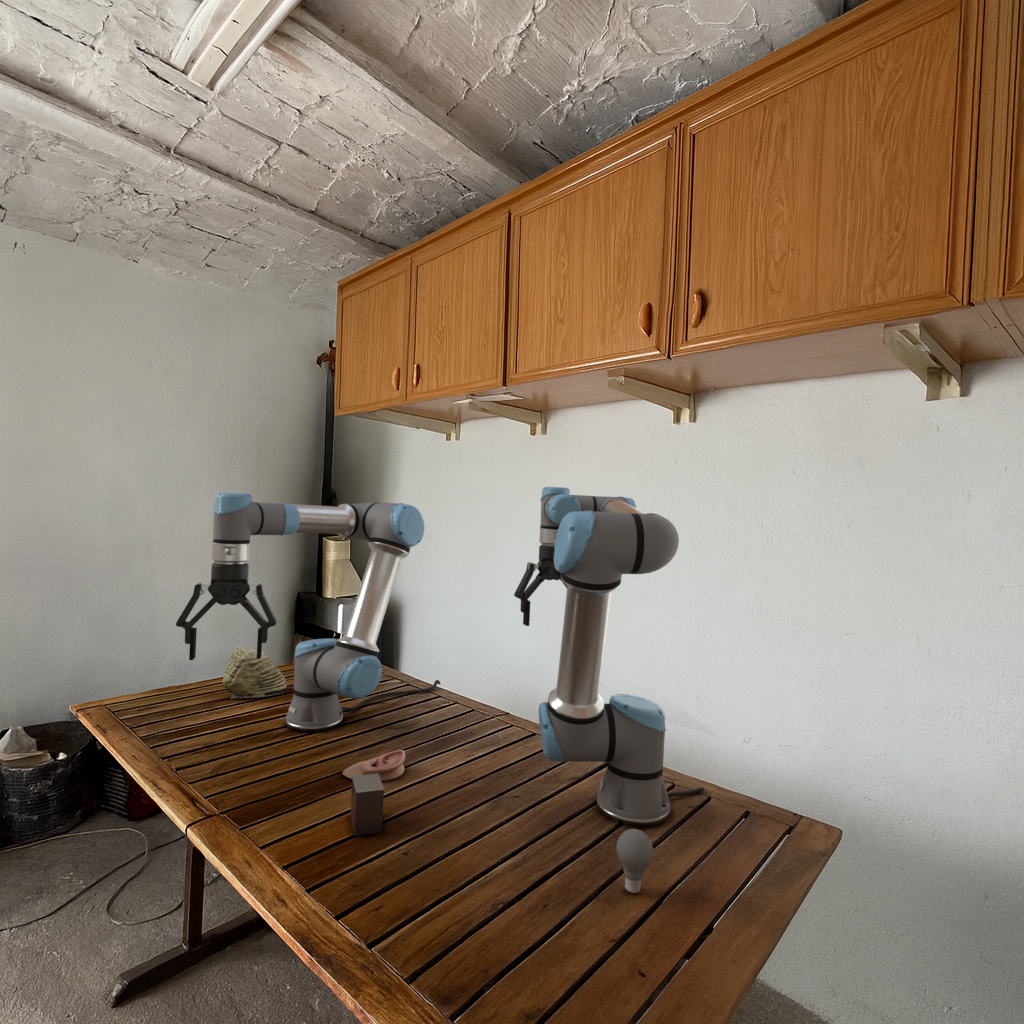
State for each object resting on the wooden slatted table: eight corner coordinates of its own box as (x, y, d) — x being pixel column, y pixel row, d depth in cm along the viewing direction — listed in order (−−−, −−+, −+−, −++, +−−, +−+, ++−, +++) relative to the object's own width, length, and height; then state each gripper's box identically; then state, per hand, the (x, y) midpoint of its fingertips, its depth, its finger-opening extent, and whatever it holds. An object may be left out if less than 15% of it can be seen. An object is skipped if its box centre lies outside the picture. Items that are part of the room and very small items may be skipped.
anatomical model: (336, 761, 142) (359, 742, 153) (336, 778, 142) (358, 758, 153) (392, 768, 139) (411, 749, 151) (391, 786, 139) (410, 765, 151)
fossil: (218, 695, 195) (220, 647, 195) (278, 685, 208) (279, 640, 207) (228, 703, 189) (230, 653, 188) (289, 692, 201) (290, 645, 201)
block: (354, 836, 119) (356, 792, 119) (350, 817, 126) (352, 775, 126) (382, 832, 121) (384, 789, 120) (376, 814, 128) (378, 772, 127)
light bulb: (610, 879, 108) (613, 822, 108) (644, 879, 109) (647, 822, 109) (619, 902, 102) (622, 840, 102) (655, 901, 103) (658, 840, 103)
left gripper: (163, 562, 133) (158, 663, 133) (289, 565, 140) (284, 661, 140) (171, 559, 140) (167, 654, 140) (291, 561, 147) (286, 653, 147)
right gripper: (514, 545, 161) (510, 628, 161) (601, 546, 169) (598, 625, 170) (504, 543, 168) (501, 622, 168) (589, 544, 176) (585, 620, 177)
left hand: (226, 658), depth 140 cm, fingers open, 13 cm apart
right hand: (549, 624), depth 169 cm, fingers open, 13 cm apart
